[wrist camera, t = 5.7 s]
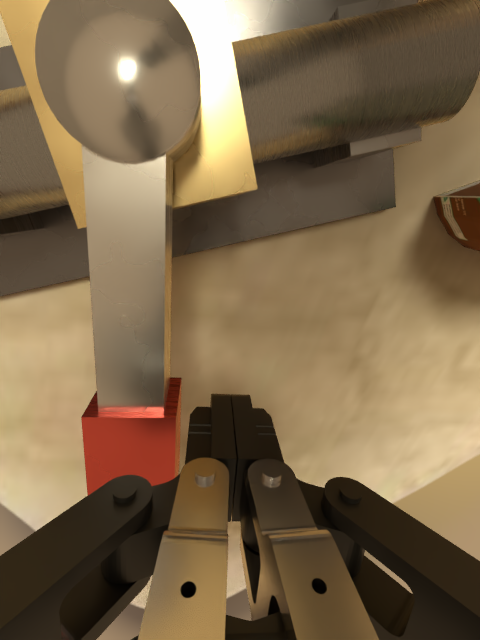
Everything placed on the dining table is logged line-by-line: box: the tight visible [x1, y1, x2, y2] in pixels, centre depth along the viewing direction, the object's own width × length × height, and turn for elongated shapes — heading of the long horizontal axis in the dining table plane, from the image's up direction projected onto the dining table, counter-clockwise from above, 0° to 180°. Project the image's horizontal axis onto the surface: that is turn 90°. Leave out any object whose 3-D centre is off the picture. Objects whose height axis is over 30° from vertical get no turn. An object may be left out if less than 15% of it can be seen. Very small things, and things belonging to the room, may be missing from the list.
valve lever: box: [35, 0, 202, 495], centre depth 11 cm, size 15×4×3 cm, turn 176°
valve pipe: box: [0, 0, 480, 296], centre depth 14 cm, size 24×11×9 cm, turn 102°
